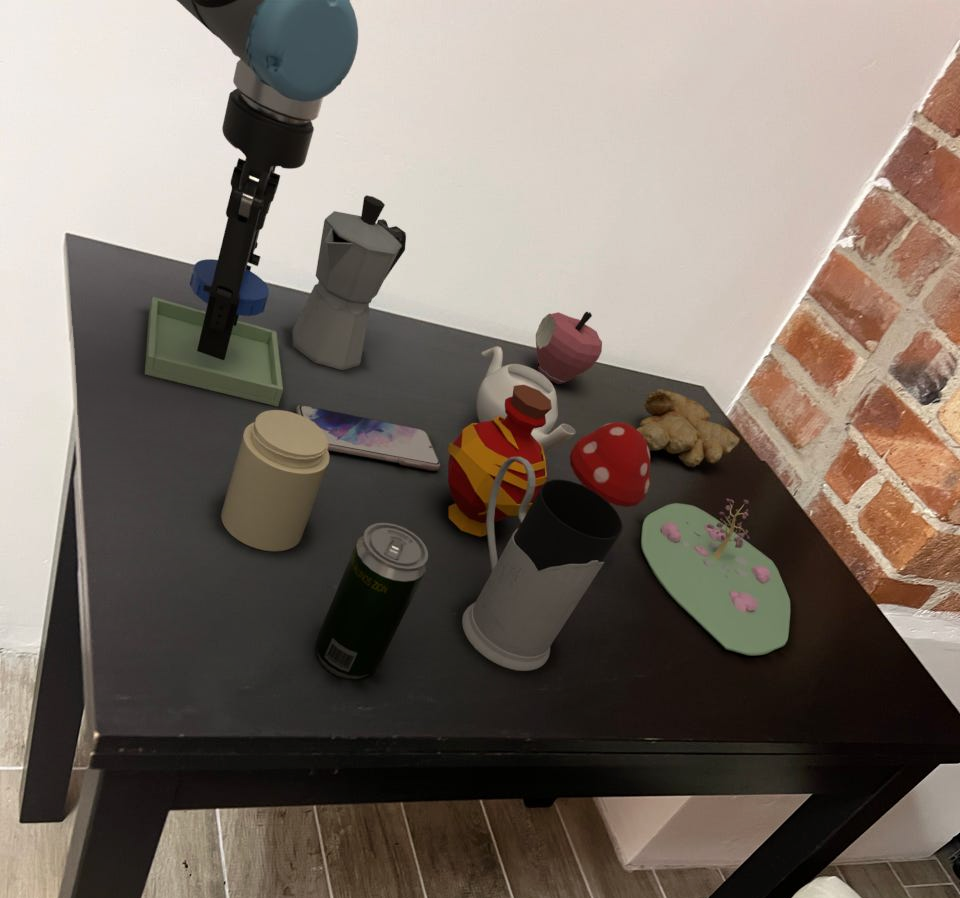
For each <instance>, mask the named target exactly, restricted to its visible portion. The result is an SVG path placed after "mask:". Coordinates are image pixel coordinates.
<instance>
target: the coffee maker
mask: <svg viewBox="0 0 960 898" xmlns="http://www.w3.org/2000/svg"><path fill="white" fill-rule="evenodd" d="M385 206H386V204H385V203H384V202H383V201H382V200H380V199H379V198H376V197H374V196H372V195H368V194H366V195H365V196H364V197H363V201H362V209H361V215H358V214H352V213H347V212H342V211H336V210H334V211H332V212H331V213H330V214H329V215H328V216H327V217H325V219H324V220H323V227H322V232H321V238H320V245H319V252H318V257H317V265H316V270H315V277H316V279H317V280H318V282H317V283H316V284H314V286H313V288H312V289H311V292H310V294H309V296H308V298H307V300H306V301H305V303H304V306H303V308H302V310H301V311H300V314H299V316H298V317H297V320H296V322H295V324H294V326H293V328H292V330H291V343H292V348H293V349H295V350H297V351H298V352H300V353H301V354H302V355H304V356H305V357H306V358H307V359H309V360H310V361H311V362H313V364H318V365H322V366H325V367H328V368H331V369H336V370H340V371H345V370H349V369H352V368H356V367H360V366H361V361H362V356H363V352H364V351H363V350H364V345H365V339H366V334H367V328H368V322H369V317H370V312H371V311H370V304H371V303H372V301H373V300H374V298H375V297H376V296H377V295H378V293H379V291H380V289H381V288H382V286H383V283H384V282H385V280H386V279H387V277H388V276H389V274H390V273H391V271H392V270H393V268H394V267H395V266H396V264H397V263H398V261H399V260H400V258H402V257H401V256H402V255H403V254H404V252H405V251H406V242H407V233H406V231H404V230H402V229H401V228H400V227H399V226H397V225H394V226H389V225H388V222H387V220H385V219H384V218H382V219H379V217H380V215H381V213H382V212H383V210H384V208H385Z"/></svg>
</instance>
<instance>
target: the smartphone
mask: <svg viewBox="0 0 960 898" xmlns="http://www.w3.org/2000/svg"><path fill="white" fill-rule="evenodd" d="M295 414H298V415H301V416H303V417H305V418H307V419H309V420H310V421H312V422H313V423H315V424H316V425H317V426H318V427H320V428H321V430H322V431H323V432H324V434H325V435H326V437H327V439H328V443H329V445H328V448H327V450H328V451H329V452H335V453H341V454H347V455H351V456H358V457H363V458H369V459H375V460H378V461H384V462H390V463H396V464H399V465H400V466H405V467H410V468H415V469H420V470H426V471H432V472H433V471H439V469H440V468H441V461H440V460H439V457H438V455H437V452H436V449H435V448H434V445H433V443H432V441H431V438H430V435H429V434H428V432H427V431H426V430H425V429H422V428H419V427H418V428H417V427H413V426H409V425H408V426H407V425H403V424H398V423H395V422H388V421H383V420H378V419H373V418H370V417H369V418H368V417H364V416H359V415H354V414H350V413H345V412H340V411H335V410H329V409H325V408H320V407H315V406H310V405H306V404H300V405H297V407H296V408H295Z"/></svg>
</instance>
